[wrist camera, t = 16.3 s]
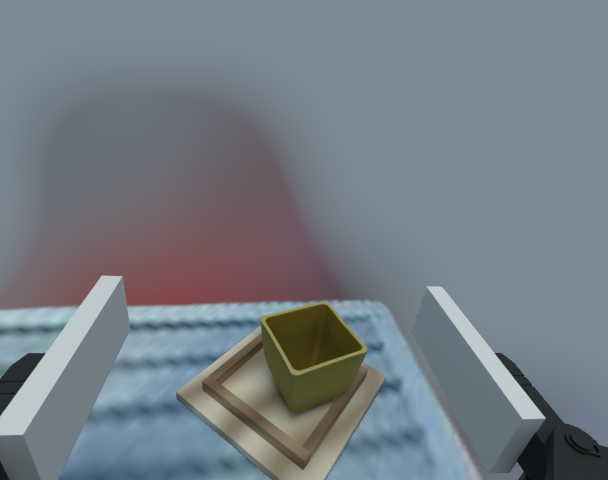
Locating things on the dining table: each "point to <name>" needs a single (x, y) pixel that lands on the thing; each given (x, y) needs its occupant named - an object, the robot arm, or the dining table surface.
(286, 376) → the flower pot
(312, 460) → the birch tray
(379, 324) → the dining table surface
